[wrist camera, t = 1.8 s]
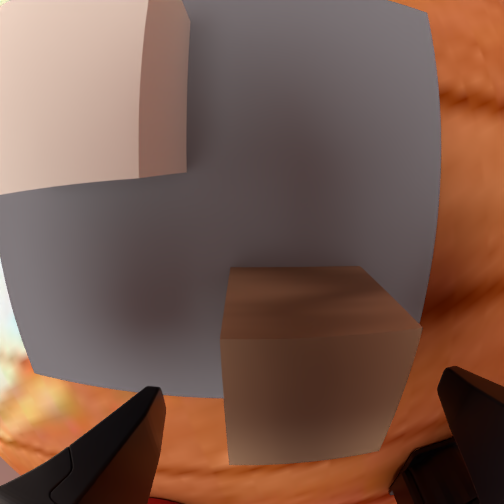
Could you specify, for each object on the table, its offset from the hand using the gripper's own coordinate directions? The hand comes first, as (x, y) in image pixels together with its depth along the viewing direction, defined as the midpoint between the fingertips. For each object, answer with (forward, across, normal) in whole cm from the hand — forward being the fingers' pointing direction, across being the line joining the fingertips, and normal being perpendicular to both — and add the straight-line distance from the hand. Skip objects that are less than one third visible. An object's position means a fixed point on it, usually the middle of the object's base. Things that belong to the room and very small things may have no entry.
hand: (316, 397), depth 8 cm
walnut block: (+4, 0, 0) cm, 4 cm away
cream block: (+4, +7, -9) cm, 12 cm away
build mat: (+5, +4, -5) cm, 8 cm away
